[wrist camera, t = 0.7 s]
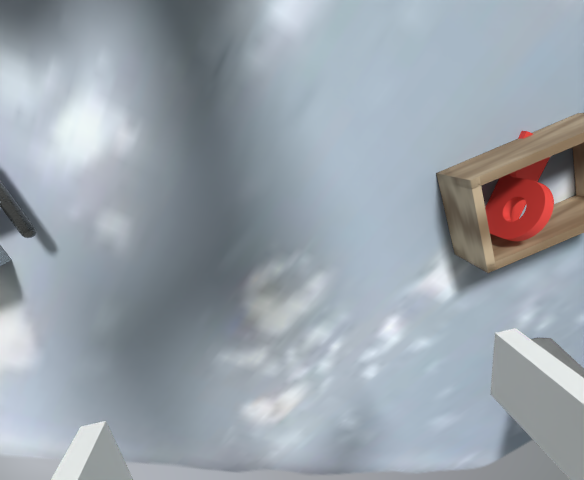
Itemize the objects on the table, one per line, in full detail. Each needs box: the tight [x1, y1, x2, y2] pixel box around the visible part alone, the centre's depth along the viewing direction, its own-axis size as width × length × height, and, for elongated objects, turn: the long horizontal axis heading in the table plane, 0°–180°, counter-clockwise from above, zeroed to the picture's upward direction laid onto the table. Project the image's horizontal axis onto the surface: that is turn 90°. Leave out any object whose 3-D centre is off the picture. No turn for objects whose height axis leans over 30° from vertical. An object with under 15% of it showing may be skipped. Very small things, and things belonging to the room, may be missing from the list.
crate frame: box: [436, 113, 584, 273], centre depth 37 cm, size 11×18×6 cm, turn 111°
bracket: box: [485, 131, 554, 241], centre depth 36 cm, size 12×4×8 cm, turn 162°
